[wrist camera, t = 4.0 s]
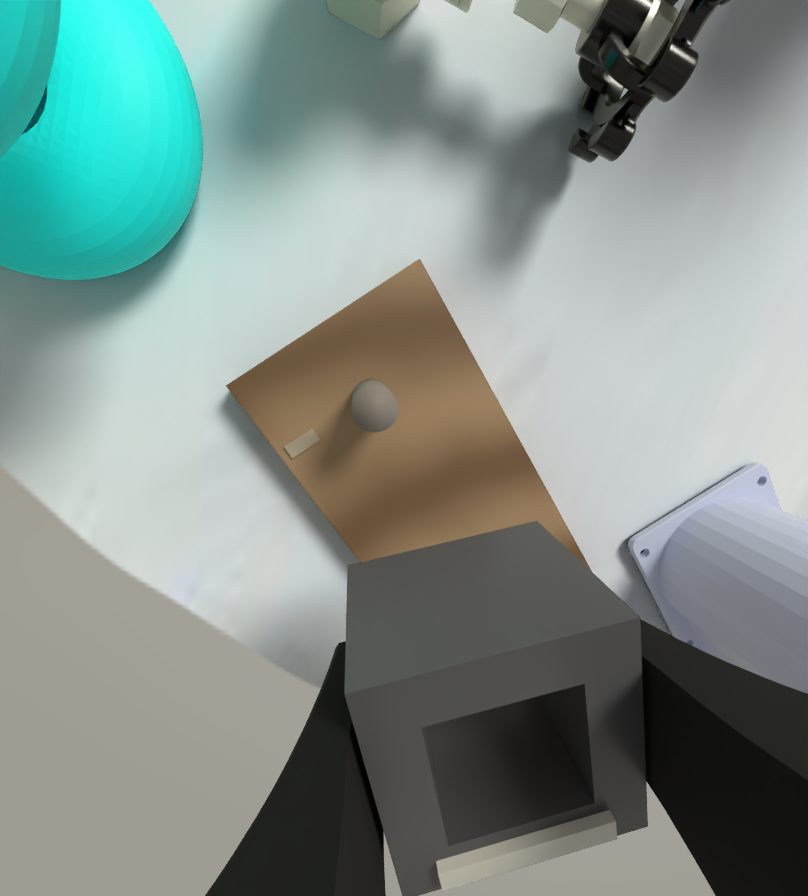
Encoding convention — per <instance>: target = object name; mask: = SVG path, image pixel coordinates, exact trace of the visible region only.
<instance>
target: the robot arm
mask: <svg viewBox="0 0 808 896" xmlns="http://www.w3.org/2000/svg"><path fill="white" fill-rule="evenodd" d="M758 479H759V480H758ZM628 548H629V550H630V552H631V554H632V556H633V558H634V560H635V562H636V564H637V566H638V568H639V570H640V572H641V574H642V576H643V578H644V580H645V582H646V584H647V586H648V588H649V590H650V592H651V594H652V596H653V598H654V600H655V602H656V604H657V606H658V608H659V610H660V612H661V614H662V615H663V617H664V619H665V621H666V623H667V625H668V627H669V629H670V631H671V633H672V635H673V636H671V635H669V634H667V633H665V632H663V631H661V630H659V629H658V628H656V627H654V626H652V625H650V624H648V623H646V622H644V621H642V620H641V619H640V625H641V653H642V680H643V708H644V736H645V764H646V781H647V782H648V784H649V786H650V787H651V789H652V790H653V792H654V793H655V795H656V796H657V798H658V799H659V801H660V802H661V804H662V805H663V807H664V808H665V810H666V812H667V814H668V815H669V817H670V819H671V820H672V822H673V824H674V825H675V827H676V829H677V830H678V832H679V834H680V835H681V837H682V839H683V840H684V842H685V844H686V845H687V847H688V849H689V850H690V852H691V854H692V855H693V857H694V859H695V860H696V862H697V864H698V866H699V867H700V869H701V871H702V873H703V874H704V876H705V878H706V880H707V881H708V883H709V885H710V886H711V888H712V890H713V892H714V893H715V895H716V896H808V520H807V519H804V518H801V517H799V516H796V515H793V514H791V513H788V512H785V511H783V510H781V507H780V504H779V502H778V499H777V496H776V493H775V490H774V487H773V484H772V482H771V479H770V476H769V473H768V470H767V468H766V466H765V465H763V464H760V463H757V462H753V463H751V464H749V465H747V466H746V467H744V468H742V469H741V470H739V471H737V472H736V473H734V474H733V475H731V476H729V477H728V478H726V479H725V480H723V481H721V482H720V483H718V484H716V485H715V486H713V487H712V488H710V489H708V490H707V491H705V492H704V493H702V494H700V495H699V496H697V497H695V498H694V499H692V500H691V501H689V502H687V503H686V504H684V505H683V506H681V507H679V508H678V509H676V510H674V511H673V512H671V513H670V514H668V515H666V516H665V517H663V518H661V519H660V520H658V521H657V522H655V523H653V524H652V525H650V526H649V527H647V528H645V529H644V530H642V531H640V532H639V533H637V534H636V535H634V536H633V537H631V538H630V540H629V542H628ZM643 549H644V551H643V552H642V553H641V551H642V550H643ZM640 553H641V554H640ZM345 652H346V642H341V643H339V644H338V645H337V647H336V649H335V652H334V655H333V658H332V661H331V664H330V666H329V669H328V672H327V675H326V677H325V680H324V682H323V685H322V687H321V690H320V692H319V695H318V697H317V700H316V702H315V704H314V707H313V709H312V711H311V713H310V716H309V718H308V720H307V723H306V725H305V727H304V729H303V731H302V733H301V735H300V737H299V739H298V741H297V743H296V745H295V747H294V749H293V751H292V754H291V755H290V757H289V760H288V761H287V763H286V765H285V767H284V769H283V771H282V773H281V775H280V777H279V778H278V780H277V782H276V784H275V786H274V788H273V789H272V791H271V793H270V795H269V796H268V798H267V800H266V801H265V803H264V805H263V807H262V808H261V810H260V812H259V814H258V816H257V817H256V819H255V820H254V822H253V823H252V825H251V827H250V828H249V830H248V831H247V833H246V835H245V836H244V838H243V839H242V841H241V843H240V844H239V846H238V848H237V849H236V851H235V852H234V854H233V855H232V857H231V858H230V860H229V861H228V863H227V864H226V866H225V868H224V869H223V870H222V872H221V873H220V875H219V876H218V878H217V879H216V881H215V882H214V884H213V885H212V887H211V888H210V890H209V891H208V892H207V894H206V895H205V896H386V895H385V878H384V846H383V844H384V838H383V827H382V823H381V820H380V816H379V813H378V809H377V806H376V802H375V799H374V795H373V792H372V788H371V785H370V781H369V778H368V774H367V771H366V767H365V764H364V761H363V757H362V754H361V750H360V747H359V743H358V740H357V736H356V733H355V729H354V726H353V722H352V719H351V715H350V712H349V708H348V705H347V701H346V698H345V695H344V691H345Z"/></svg>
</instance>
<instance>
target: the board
mask: <svg viewBox="0 0 808 896" xmlns="http://www.w3.org/2000/svg"><path fill="white" fill-rule="evenodd" d="M226 386H227V388H228V389H229V390H230V392H231V393H232V394H233V396H234V397H235V398H236V400H237V401H238V402H239V403H240V405H241V406H242V407H243V409H244V410H245V411H246V413H247V414H248V415H249V417H250V418H251V419H252V421H253V422H254V423H255V424H256V426H257V427H258V428H259V430H260V431H261V432H262V434H263V435H264V436H265V438H266V439H267V440H268V442H269V443H270V444H271V446H272V447H273V448H274V449H275V451H276V452H277V453H278V455H279V456H280V457H281V459H282V460H283V461H284V463H285V464H286V465H287V467H288V468H289V469H290V470H291V472H292V473H293V474H294V476H295V477H296V478H297V480H298V481H299V482H300V484H301V485H302V486H303V488H304V489H305V490H306V491H307V493H308V494H309V495H310V497H311V498H312V499H313V501H314V502H315V503H316V505H317V506H318V507H319V509H320V510H321V511H322V512H323V514H324V515H325V516H326V518H327V519H328V520H329V522H330V523H331V524H332V526H333V527H334V528H335V530H336V531H337V532H338V533H339V535H340V536H341V537H342V539H343V540H344V541H345V543H346V544H347V545H348V547H349V548H350V549H351V551H352V552H353V553H354V555H355V556H356V557H357V558H358V560H359V561H360V562H364V561H369V560H373V559H377V558H381V557H385V556H390V555H394V554H398V553H402V552H407V551H411V550H415V549H419V548H424V547H428V546H432V545H436V544H440V543H445V542H449V541H453V540H457V539H462V538H466V537H470V536H474V535H479V534H483V533H487V532H491V531H495V530H500V529H504V528H508V527H512V526H517V525H521V524H525V523H529V522H534V521H538V522H539V523H540V524H541V525H542V526H543V527H544V528H545V529H546V530H547V531H549V532H550V533H551V534H552V535H553V536H554V537H555V538H556V539H557V540H558V541H559V542H560V543H561V544H562V545H564V546H565V547H566V548H567V549H568V550H569V551H570V552H571V553H572V554H573V555H574V556H575V557H576V558H577V559H578V560H580V561H581V562H582V563H583V564H584V565H585V566H586V567H587V568H588V569H589V570H590V571H591V569H590V567H589V565H588V564H587V562H586V560H585V558H584V556H583V555H582V553H581V551H580V549H579V547H578V546H577V544H576V542H575V540H574V538H573V536H572V535H571V533H570V531H569V529H568V527H567V526H566V524H565V522H564V520H563V518H562V516H561V515H560V513H559V511H558V509H557V507H556V506H555V504H554V502H553V500H552V498H551V496H550V495H549V493H548V491H547V489H546V487H545V486H544V484H543V482H542V480H541V478H540V476H539V475H538V473H537V471H536V469H535V467H534V466H533V464H532V462H531V460H530V458H529V456H528V455H527V453H526V451H525V449H524V447H523V446H522V444H521V442H520V440H519V438H518V436H517V435H516V433H515V431H514V429H513V427H512V426H511V424H510V422H509V420H508V418H507V416H506V415H505V413H504V411H503V409H502V407H501V406H500V404H499V402H498V400H497V398H496V396H495V395H494V393H493V391H492V389H491V387H490V386H489V384H488V382H487V380H486V378H485V376H484V375H483V373H482V371H481V369H480V367H479V366H478V364H477V362H476V360H475V358H474V356H473V355H472V353H471V351H470V349H469V347H468V346H467V344H466V342H465V340H464V338H463V336H462V335H461V333H460V331H459V329H458V327H457V326H456V324H455V322H454V320H453V318H452V317H451V315H450V313H449V311H448V309H447V307H446V306H445V304H444V302H443V300H442V298H441V297H440V295H439V293H438V291H437V289H436V287H435V286H434V284H433V282H432V280H431V278H430V277H429V275H428V273H427V271H426V269H425V267H424V266H423V264H422V262H421V260H420V259H419V260H417V261H415V262H414V263H412V264H411V265H409V266H408V267H406V268H405V269H403V270H402V271H400V272H399V273H397V274H396V275H394V276H393V277H391V278H390V279H388V280H387V281H385V282H383V283H382V284H380V285H379V286H377V287H376V288H374V289H373V290H371V291H370V292H368V293H367V294H365V295H364V296H362V297H361V298H359V299H358V300H356V301H354V302H353V303H351V304H350V305H348V306H347V307H345V308H344V309H342V310H341V311H339V312H338V313H336V314H335V315H333V316H332V317H330V318H329V319H327V320H325V321H324V322H322V323H321V324H319V325H318V326H316V327H315V328H313V329H312V330H310V331H309V332H307V333H306V334H304V335H303V336H301V337H300V338H298V339H297V340H295V341H293V342H292V343H290V344H289V345H287V346H286V347H284V348H283V349H281V350H280V351H278V352H277V353H275V354H274V355H272V356H271V357H269V358H268V359H266V360H264V361H263V362H261V363H260V364H258V365H257V366H255V367H254V368H252V369H251V370H249V371H248V372H246V373H245V374H243V375H242V376H240V377H239V378H237V379H236V380H234V381H232V382H231V383H229V384H228V385H226ZM591 572H592V571H591Z"/></svg>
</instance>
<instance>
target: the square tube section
mask: <svg viewBox="0 0 808 896" xmlns="http://www.w3.org/2000/svg"><path fill="white" fill-rule="evenodd" d="M344 695H345V698H346V701H347V705H348V708H349V712H350V715H351V719H352V722H353V726H354V729H355V733H356V736H357V740H358V743H359V747H360V750H361V754H362V757H363V761H364V764H365V767H366V771H367V774H368V778H369V781H370V785H371V788H372V792H373V795H374V799H375V802H376V806H377V809H378V813H379V816H380V820H381V823H382V827H383V830H384V834H385V837H386V840H387V844H388V847H389V851H390V854H391V858H392V861H393V865H394V868H395V871H396V875H397V878H398V882H399V885H400V889H401V893H402V896H418V895H421V894H425V893H428V892H432V891H435V890H438V889H442V891H446V890H449V889H453V888H456V887H459V886H463V885H466V884H469V883H473V882H476V881H479V880H483V879H486V878H489V877H493V876H496V875H499V874H503V873H506V872H509V871H512V870H516V869H519V868H522V867H526V866H529V865H532V864H536V863H538V862H542V861H545V860H549V859H552V858H555V857H559V856H562V855H565V854H569V853H572V852H575V851H579V850H582V849H585V848H588V847H592V846H595V845H599V844H602V843H605V842H608V841H612V840H615V839H617V836H618V835H621V834H624V833H628V832H631V831H634V830H638V829H641V828H644V827H647V826H648V822H647V821H648V820H647V795H646V794H647V792H646V764H645V736H644V708H643V680H642V653H641V625H640V617H639V616H638V615H637V614H636V613H635V612H634V611H633V610H632V609H631V608H630V607H629V606H628V605H627V604H626V603H624V602H623V601H622V600H621V599H620V598H619V597H618V596H617V595H616V594H615V593H614V592H613V591H612V590H611V589H609V588H608V587H607V586H606V585H605V584H604V583H603V582H602V581H601V580H600V579H599V578H598V577H597V576H596V575H595V574H593V573H592V572H591V571H590V570H589V569H588V568H587V567H586V566H585V565H584V564H583V563H582V562H581V561H580V560H578V559H577V558H576V557H575V556H574V555H573V554H572V553H571V552H570V551H569V550H568V549H567V548H566V547H565V546H564V545H562V544H561V543H560V542H559V541H558V540H557V539H556V538H555V537H554V536H553V535H552V534H551V533H550V532H549V531H547V530H546V529H545V528H544V527H543V526H542V525H541V524H540V523H539V522H538V521H534V522H529V523H525V524H521V525H517V526H512V527H508V528H504V529H500V530H495V531H491V532H487V533H483V534H479V535H474V536H470V537H466V538H462V539H457V540H453V541H449V542H445V543H440V544H436V545H432V546H428V547H424V548H419V549H415V550H411V551H407V552H402V553H398V554H394V555H390V556H385V557H381V558H377V559H373V560H369V561H364V562H360V563H356V564H352V565H348V575H347V614H346V652H345V691H344Z"/></svg>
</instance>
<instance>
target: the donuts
mask: <svg viewBox="0 0 808 896" xmlns="http://www.w3.org/2000/svg"><path fill="white" fill-rule="evenodd" d="M46 85H47V99H46V103H45V108H44V111H43V113H42V115H41V117H40V119H39V121H38V122H37V123H36V124H35V125H34V126H33V127H32V128H31V129H30V130H29V131H28V132H26V133H24V134H22V133H23V131H24V130H25V128H26V127H27V126H28V124H29V122H30V120H31V119H32V117H33V115H34V113H35V111H36V110H37V107H38V105H39V103H40V101H41V98H42V96H43V94H44V91H45V88H46ZM21 134H22V135H21ZM202 160H203V137H202V127H201V120H200V114H199V109H198V104H197V100H196V95H195V92H194V88H193V85H192V81H191V79H190V76H189V73H188V70H187V68H186V65H185V63H184V60H183V58H182V56H181V54H180V51H179V49H178V48H177V46H176V44H175V42H174V40H173V38H172V36H171V34H170V33H169V31H168V29H167V27H166V25H165V24H164V22H163V21H162V19H161V17H160V16H159V14H158V13H157V11H156V10H155V8H154V7H153V5H152V4H151V3H150V1H149V0H0V266H2V267H5V268H8V269H11V270H14V271H17V272H21V273H25V274H29V275H34V276H39V277H44V278H50V279H59V280H86V279H95V278H100V277H105V276H110V275H114V274H118V273H121V272H124V271H127V270H129V269H131V268H134V267H136V266H138V265H140V264H142V263H143V262H145V261H147V260H148V259H150V258H151V257H152V256H154V255H155V254H156V253H158V252H159V251H160V250H161V249H162V248H163V247H164V246H165V245H166V244H168V243H169V241H170V240H171V239H172V238H173V237H174V236H175V234H176V233H177V232H178V230H179V229H180V227H181V226H182V224H183V223H184V221H185V219H186V218H187V216H188V214H189V212H190V210H191V207H192V205H193V202H194V200H195V196H196V193H197V190H198V186H199V182H200V176H201V170H202Z"/></svg>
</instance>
